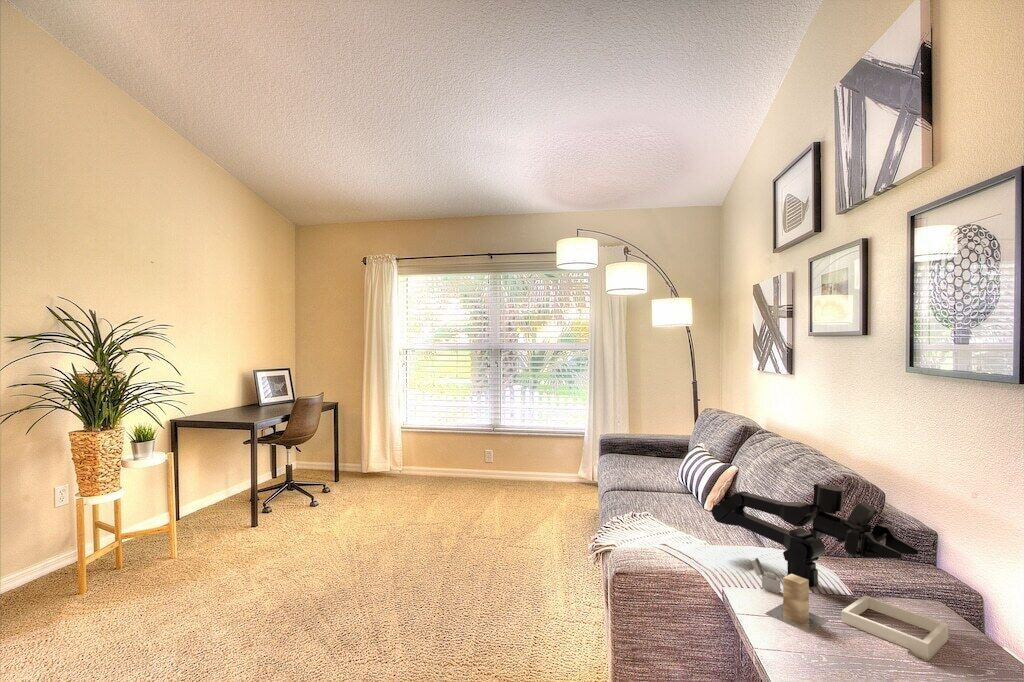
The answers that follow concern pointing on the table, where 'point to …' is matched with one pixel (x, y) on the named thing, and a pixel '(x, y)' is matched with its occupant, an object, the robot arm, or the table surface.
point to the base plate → (805, 626)
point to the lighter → (766, 577)
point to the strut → (796, 598)
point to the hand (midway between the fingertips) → (910, 554)
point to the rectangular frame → (917, 646)
